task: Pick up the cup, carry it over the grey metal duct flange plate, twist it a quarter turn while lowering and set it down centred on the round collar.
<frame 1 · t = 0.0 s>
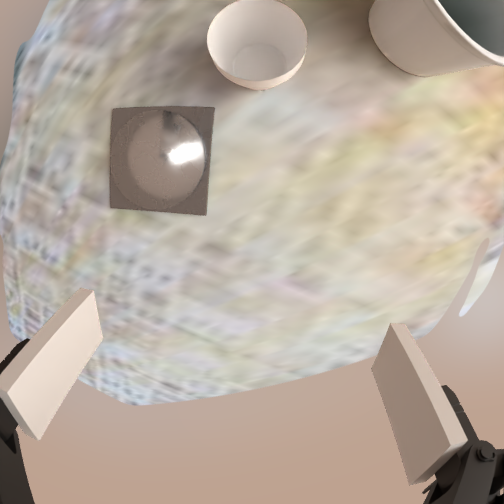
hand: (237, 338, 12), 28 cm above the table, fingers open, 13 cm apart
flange: (158, 158, 37), on the table
cup: (259, 66, 32), on the table
utensil holder: (410, 34, 28), on the table
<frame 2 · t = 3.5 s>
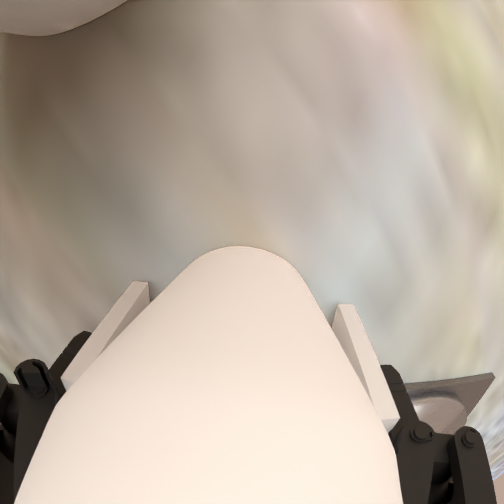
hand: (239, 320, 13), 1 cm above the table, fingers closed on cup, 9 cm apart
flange: (390, 438, 19), on the table
cup: (241, 307, 14), on the table, touching gripper
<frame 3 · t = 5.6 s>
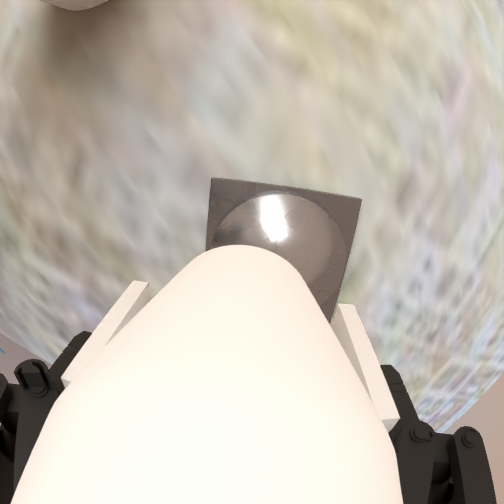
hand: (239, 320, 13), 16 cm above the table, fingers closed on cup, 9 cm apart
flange: (277, 256, 30), on the table
cup: (241, 306, 14), point 15 cm above the table, touching gripper
when the fingers open (3 cm above the table, at t = 8.0 s): cup stays where it is, resting on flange.
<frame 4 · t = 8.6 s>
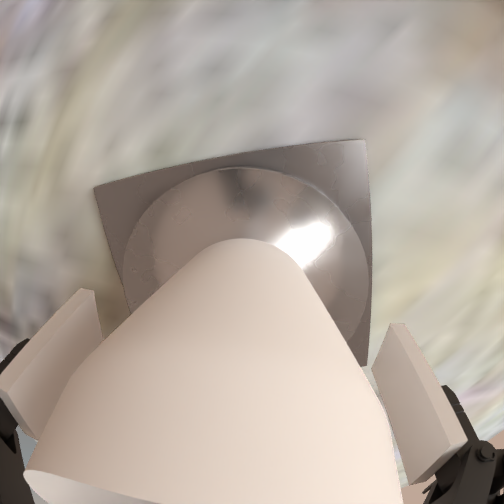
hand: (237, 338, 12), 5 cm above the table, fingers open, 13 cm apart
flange: (244, 285, 17), on the table
cup: (244, 297, 15), point 1 cm above the table, touching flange
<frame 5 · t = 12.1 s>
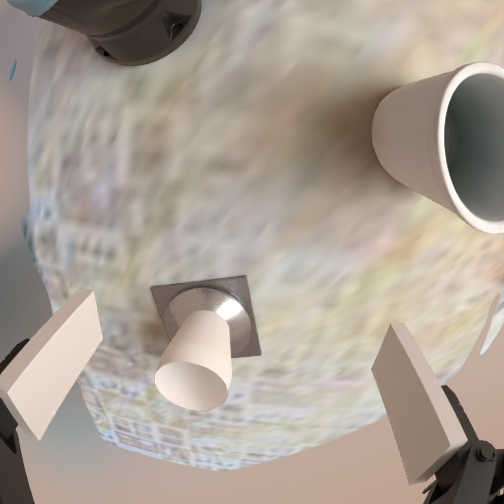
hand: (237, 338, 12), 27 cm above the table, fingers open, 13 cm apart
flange: (208, 322, 44), on the table
cup: (207, 327, 43), point 1 cm above the table, touching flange
utensil holder: (414, 137, 33), on the table
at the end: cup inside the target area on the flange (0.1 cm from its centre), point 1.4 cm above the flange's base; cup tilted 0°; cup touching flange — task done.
